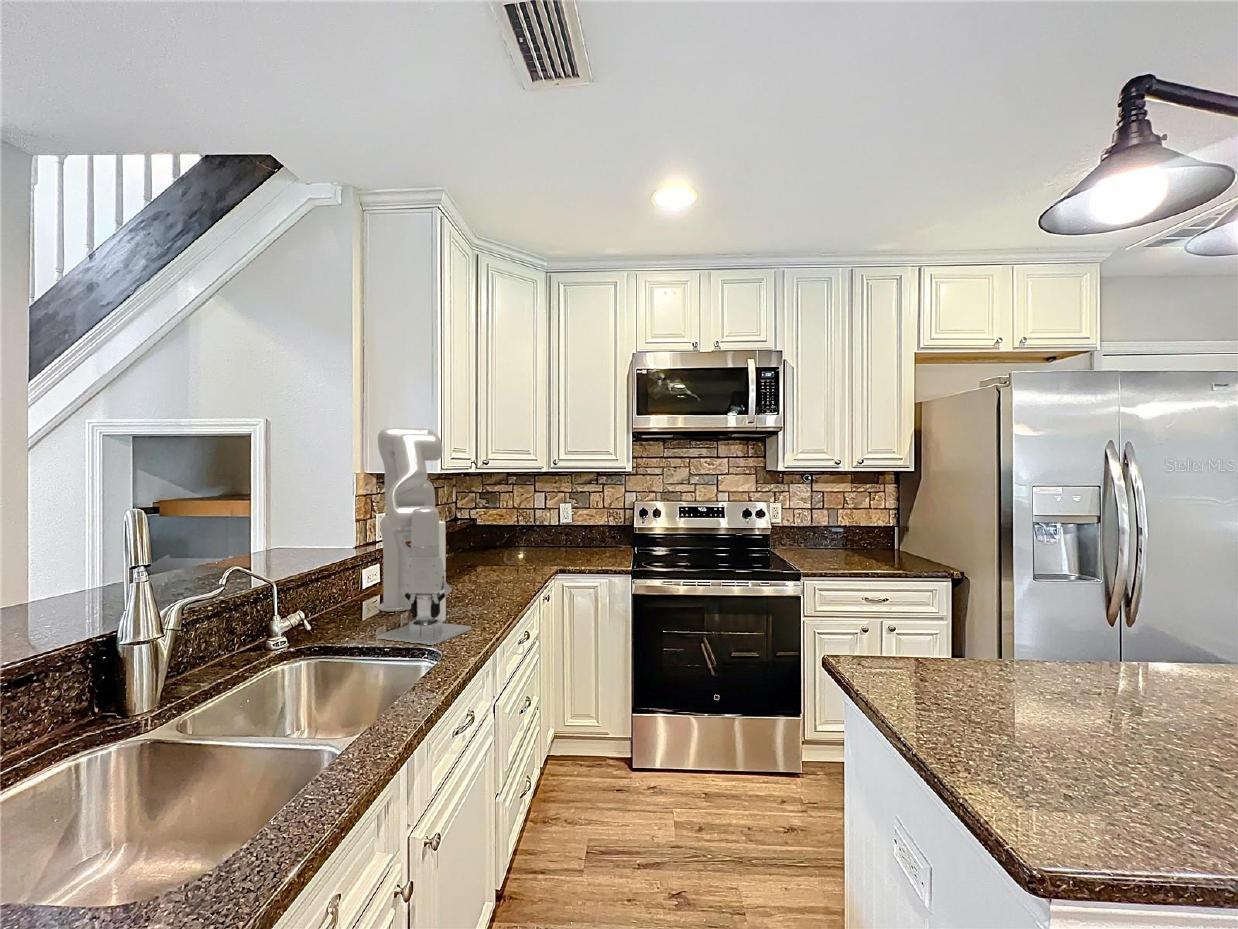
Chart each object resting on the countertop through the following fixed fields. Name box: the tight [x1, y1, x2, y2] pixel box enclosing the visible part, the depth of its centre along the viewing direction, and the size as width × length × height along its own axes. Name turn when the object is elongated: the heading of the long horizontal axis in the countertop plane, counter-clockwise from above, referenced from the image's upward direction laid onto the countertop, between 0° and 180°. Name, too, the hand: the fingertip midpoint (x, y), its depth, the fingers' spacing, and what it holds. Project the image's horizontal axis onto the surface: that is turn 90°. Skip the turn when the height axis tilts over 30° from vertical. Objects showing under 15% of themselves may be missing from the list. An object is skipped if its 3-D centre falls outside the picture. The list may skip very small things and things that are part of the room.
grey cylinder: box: [415, 594, 435, 625], centre depth 180 cm, size 5×5×10 cm
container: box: [435, 520, 447, 623], centre depth 197 cm, size 9×9×30 cm
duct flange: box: [376, 619, 472, 646], centre depth 180 cm, size 18×18×4 cm
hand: (425, 616), depth 180 cm, fingers closed on grey cylinder, 5 cm apart
